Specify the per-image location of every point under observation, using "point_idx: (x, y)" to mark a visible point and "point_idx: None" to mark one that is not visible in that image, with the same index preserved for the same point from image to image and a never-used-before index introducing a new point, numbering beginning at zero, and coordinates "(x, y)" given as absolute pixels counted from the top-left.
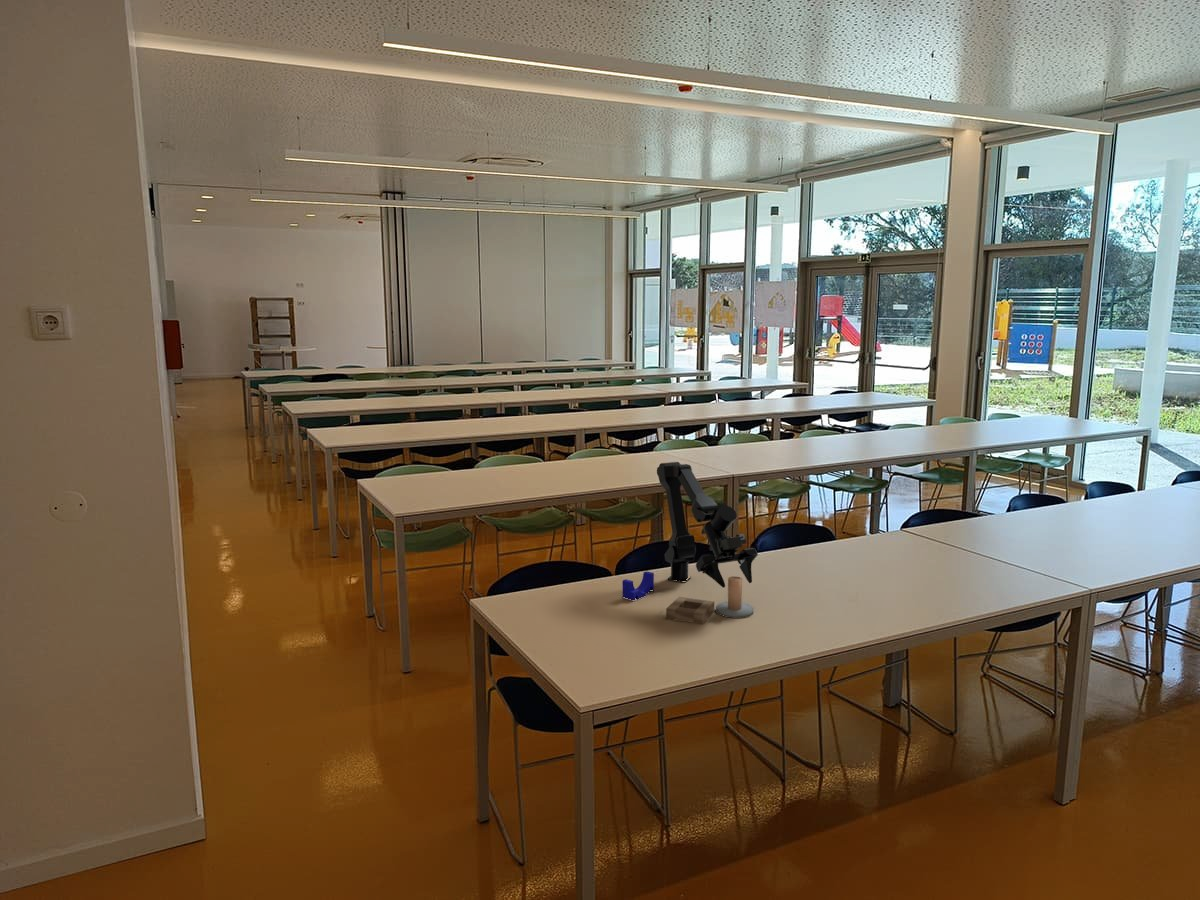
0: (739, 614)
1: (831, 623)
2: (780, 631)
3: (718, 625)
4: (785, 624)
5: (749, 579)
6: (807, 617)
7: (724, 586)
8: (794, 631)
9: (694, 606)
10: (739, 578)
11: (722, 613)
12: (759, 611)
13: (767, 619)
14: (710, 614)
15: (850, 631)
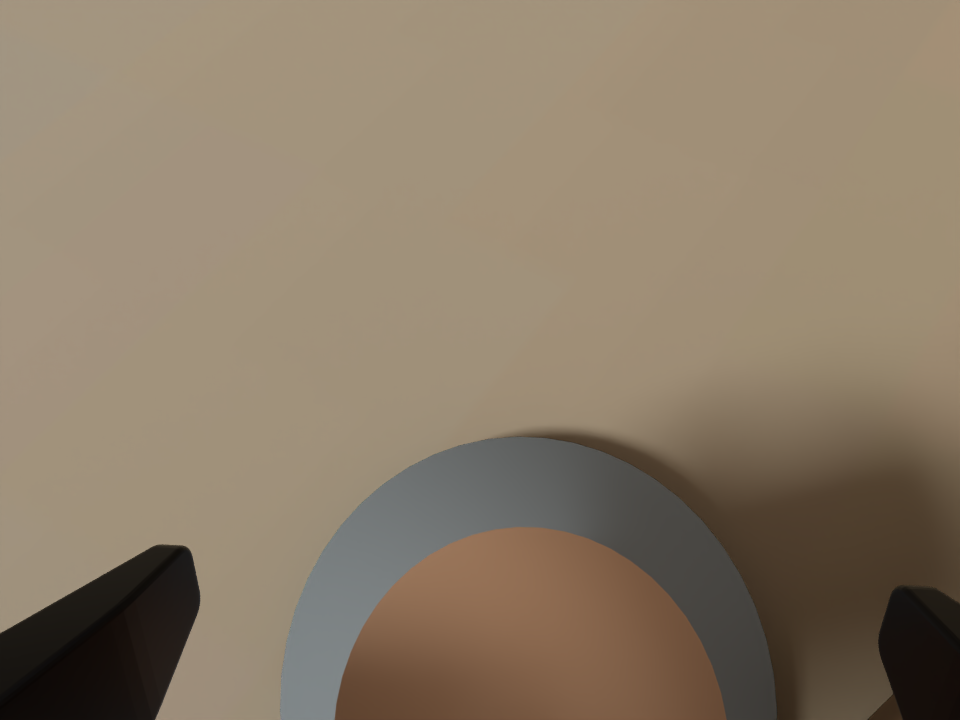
0: (598, 455)
1: (14, 40)
2: (461, 67)
3: (919, 390)
4: (319, 154)
5: (156, 609)
6: (42, 195)
7: (913, 592)
8: (367, 31)
9: None
10: (410, 669)
11: (752, 613)
12: (278, 520)
13: (369, 304)
14: (891, 703)
15: None
